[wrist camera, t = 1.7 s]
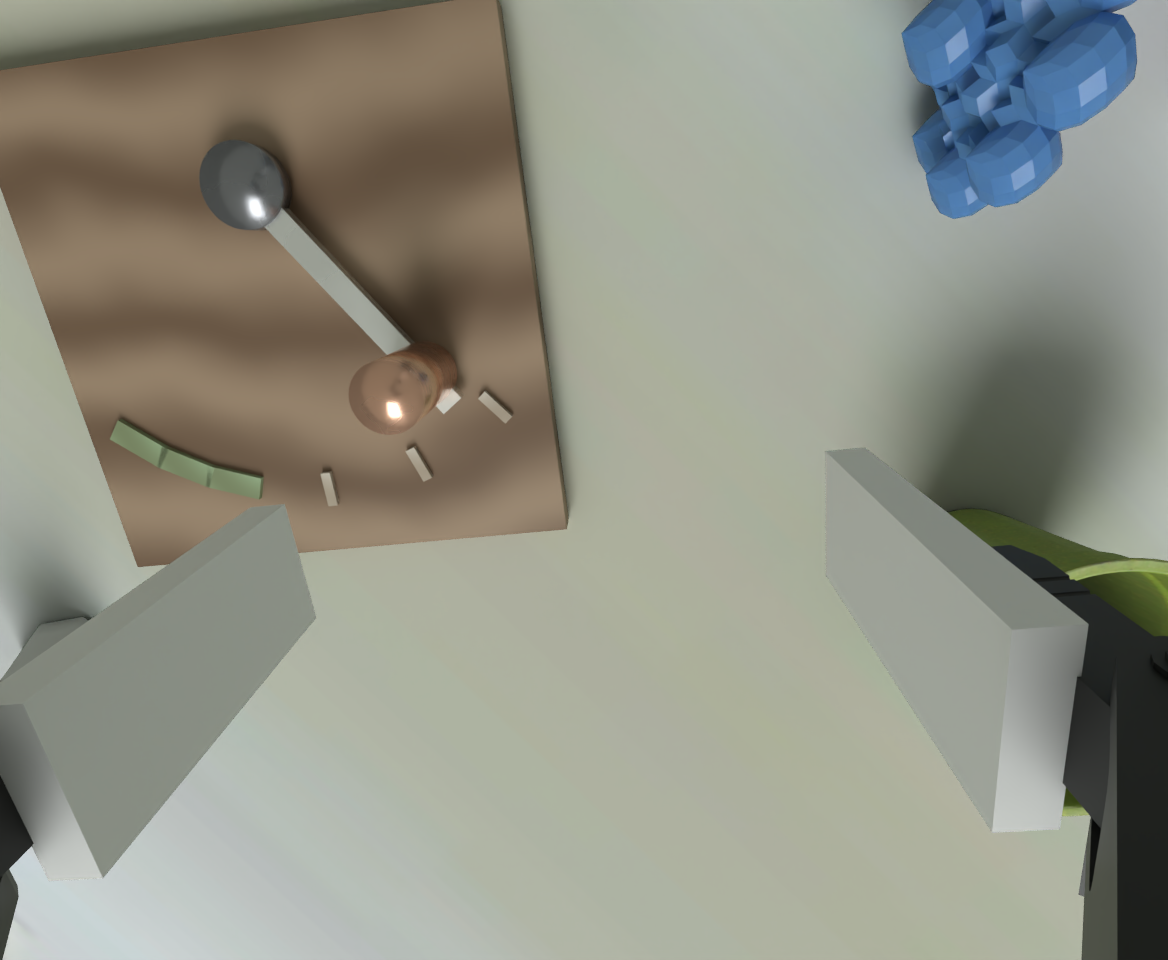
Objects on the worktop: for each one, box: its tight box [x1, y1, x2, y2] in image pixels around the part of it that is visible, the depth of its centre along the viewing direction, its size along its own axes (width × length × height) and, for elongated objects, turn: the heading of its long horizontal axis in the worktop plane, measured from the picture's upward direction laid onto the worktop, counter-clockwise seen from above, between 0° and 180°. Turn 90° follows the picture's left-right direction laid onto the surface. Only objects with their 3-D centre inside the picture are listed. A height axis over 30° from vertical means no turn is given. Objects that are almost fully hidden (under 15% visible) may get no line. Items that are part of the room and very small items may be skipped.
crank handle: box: [199, 140, 464, 435], centre depth 28 cm, size 15×4×6 cm, turn 41°
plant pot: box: [949, 509, 1168, 816], centre depth 31 cm, size 12×12×11 cm
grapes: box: [902, 0, 1137, 219], centre depth 23 cm, size 12×7×12 cm, turn 176°
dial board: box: [0, 0, 569, 567], centre depth 33 cm, size 24×24×2 cm
